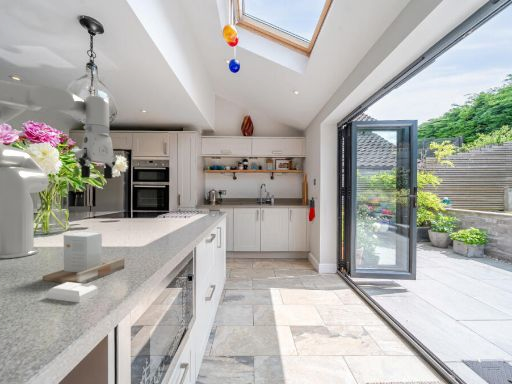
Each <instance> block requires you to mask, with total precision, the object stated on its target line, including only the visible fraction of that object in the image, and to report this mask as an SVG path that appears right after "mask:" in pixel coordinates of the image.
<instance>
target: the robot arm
mask: <svg viewBox="0 0 512 384" xmlns="http://www.w3.org/2000/svg"><path fill="white" fill-rule="evenodd" d="M41 109H48V110H54V111H57V112H61V113H64V114H67V115H68V116H71V117H73V118H75V119H78V120H85V125H83V130H84V131H85V132H84V133H83V137H82V144H81V149H80V150H77V151H75V152H73V153H74V156H75V158H76V161H77V163H78V164H79V166H80V167H81V169H80V170H81V171H80V173H81V175H80V177H81V178H85V179H87V178H88V179H89V178H91V167H90V164H91V163H99V164H100V163H101V164H103V166H104V168H103V170H104V171H103V178H104V179H109V180H110V179H113V169H114V166H115V165H116V163H117V159H118V158H117V156H115V155H114V148H113V147H114V146H113V141H112V137H110V102H109V100H107V99H106V98H105V97H101V96H97V95H90V96H87V97H86V99H85V98H83V97H80V96H78V95H77V94H76V93H73V92H72V91H69V90H66V89H64V88H63V89H62V88H58V87H53V86H47V85H39V84H38V85H29V84H23V83H18V82H13V81H7V80H3V79H2V80H1V79H0V126H1V125H3V124H5V123H8V122H9V121H11V120H12V119H14V118H16V117H17V116H19V115H21V114H22V113H24V112H25V111H33V112H37V111H40V110H41ZM49 185H50V179H49V176H48V175H47V173H46V172H45V170H44V169H43V168H42V167H41V166H40V165H39V164H38V162H37V161H36V160H35V159H34V158H32V156H31V155H30V154H29V153H27V152H26V151H25V150H24V149H21V148H18V147H15V146H10V145H5V144H3V143H2V142H0V259H14V258H21V257H27V256H32V255H35V254H38V253H39V252H40V248H39V247H36V246H34V245H35V242H34V235H35V234H34V223H35V222H34V217H35V216H34V215H35V214H34V202H33V199H32V196H31V194H34V193H35V194H36V193H41V192H44V191H45V190H47V188H48V187H49Z"/></svg>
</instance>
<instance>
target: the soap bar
mask: <svg viewBox="0 0 512 384" xmlns="http://www.w3.org/2000/svg"><path fill="white" fill-rule="evenodd" d="M98 293H99V288H98V286H97V285H96V286H95V285H94V284H88V283H85V284H81V283H72V282H66V283H61V284H59V285H56V286H53V287H51V288H50V289H49V290H48V291H46V299H49V300H58V301H63V302H64V301H66V302H71V303H82V302H84V301H86V300H88V299H90V298H92V297H94V296H96V295H98Z"/></svg>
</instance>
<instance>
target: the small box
mask: <svg viewBox="0 0 512 384" xmlns="http://www.w3.org/2000/svg"><path fill="white" fill-rule="evenodd" d="M102 237H103V235H102V232H90V231H89V232H88V231H87V232H85V231H79V232H74V233H67V234H64V235H63V270H64V271H67V272H77V273H79V272H82V271H85V270H88V269H91V268H94V267H97V266H100V265H102V262H103V241H102V240H103V238H102Z"/></svg>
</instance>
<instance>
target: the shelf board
mask: <svg viewBox="0 0 512 384" xmlns="http://www.w3.org/2000/svg"><path fill="white" fill-rule="evenodd" d="M123 269H125V258H124V257H123V258H122V257H120V258H118V259H116V260H112V261H109V262H103V261H102V265H100V266H97V267H94V268H91V269H88V270H85V271H82V272H79V273H77V272H67V271H64V269H61V270H59V271H58V270H57V271H54V272H52V273H49V274H45V275H42V281H49V282H56V283H61V284H63V283H66V282H72V283H81V284H88V283H90V282H93V281H95V280H98V279H100V278H103V277H106V276H108V275H111V274H113V273H116V272H118V271H120V270H123Z"/></svg>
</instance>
